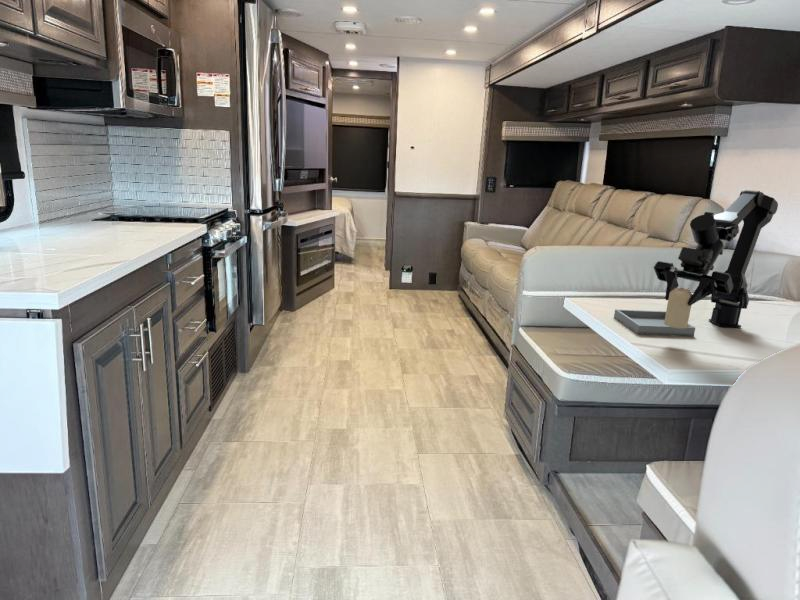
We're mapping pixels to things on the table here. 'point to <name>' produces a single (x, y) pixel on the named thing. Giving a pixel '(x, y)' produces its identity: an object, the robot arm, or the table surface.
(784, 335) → the table surface
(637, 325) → the tray
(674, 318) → the candle
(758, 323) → the table surface
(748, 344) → the table surface
